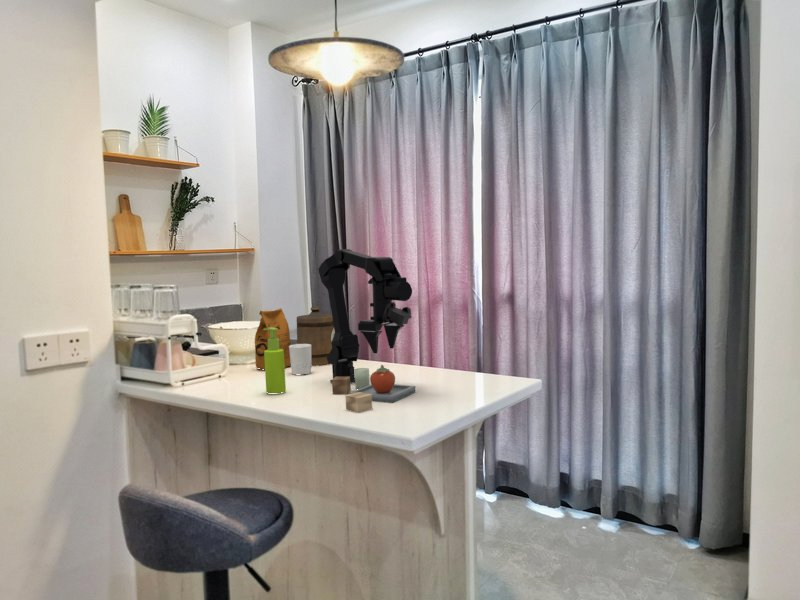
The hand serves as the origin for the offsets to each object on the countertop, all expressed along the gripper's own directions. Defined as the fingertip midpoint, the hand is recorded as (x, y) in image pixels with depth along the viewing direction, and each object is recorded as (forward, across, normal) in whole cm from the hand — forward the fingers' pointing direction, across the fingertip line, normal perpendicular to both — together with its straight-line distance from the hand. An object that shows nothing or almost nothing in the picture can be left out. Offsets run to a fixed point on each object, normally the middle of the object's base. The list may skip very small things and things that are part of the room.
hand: (383, 350), depth 191 cm
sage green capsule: (+12, 0, +8) cm, 15 cm away
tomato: (+11, -6, -3) cm, 13 cm away
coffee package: (+14, +16, +59) cm, 63 cm away
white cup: (+13, +12, +42) cm, 46 cm away
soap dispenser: (+13, -15, +30) cm, 36 cm away
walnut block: (+12, -7, +11) cm, 18 cm away
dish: (+12, -6, -3) cm, 14 cm away
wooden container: (+14, +32, +51) cm, 61 cm away
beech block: (+12, -22, -6) cm, 26 cm away
